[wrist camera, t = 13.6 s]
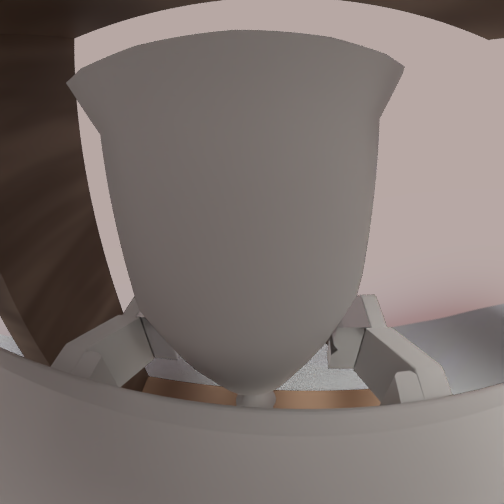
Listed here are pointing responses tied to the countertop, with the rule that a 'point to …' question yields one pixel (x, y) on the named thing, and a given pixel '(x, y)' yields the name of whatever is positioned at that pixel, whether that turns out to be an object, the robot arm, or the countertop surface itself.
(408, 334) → the countertop surface
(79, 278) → the wooden c-shaped stand
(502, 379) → the countertop surface
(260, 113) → the chalice
